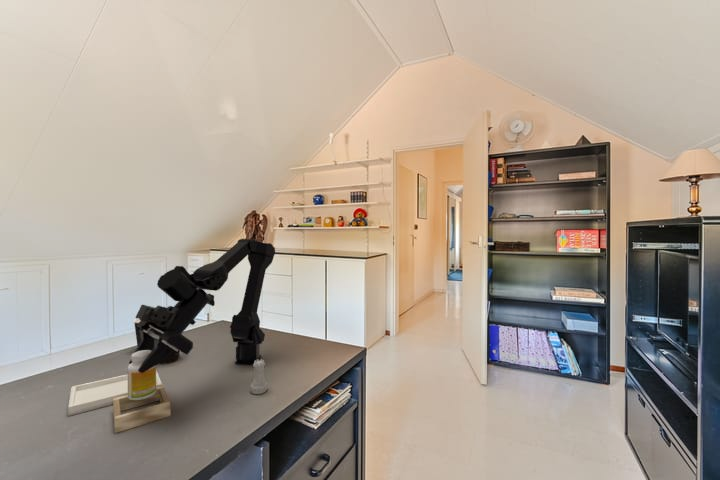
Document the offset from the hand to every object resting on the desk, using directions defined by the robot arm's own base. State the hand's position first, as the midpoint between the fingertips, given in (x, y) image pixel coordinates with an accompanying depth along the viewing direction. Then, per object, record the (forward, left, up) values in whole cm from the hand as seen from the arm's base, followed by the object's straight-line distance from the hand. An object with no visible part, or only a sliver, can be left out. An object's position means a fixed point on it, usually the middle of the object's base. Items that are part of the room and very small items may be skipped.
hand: (135, 368), depth 71 cm
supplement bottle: (-1, -1, -7) cm, 7 cm away
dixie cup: (+24, -38, -11) cm, 46 cm away
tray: (+12, -10, -11) cm, 19 cm away
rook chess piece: (-24, -13, -11) cm, 29 cm away
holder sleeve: (-1, -1, -11) cm, 11 cm away
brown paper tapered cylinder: (+12, -32, -11) cm, 36 cm away
